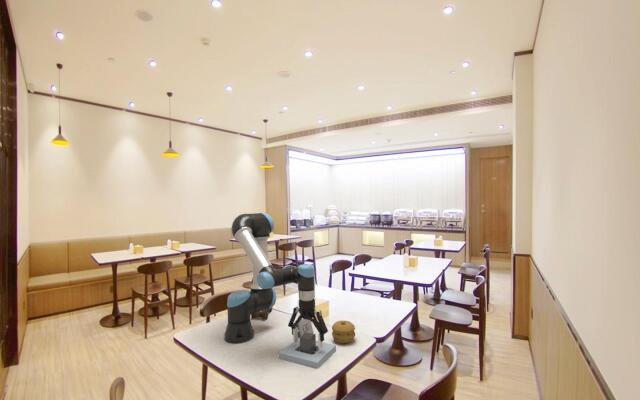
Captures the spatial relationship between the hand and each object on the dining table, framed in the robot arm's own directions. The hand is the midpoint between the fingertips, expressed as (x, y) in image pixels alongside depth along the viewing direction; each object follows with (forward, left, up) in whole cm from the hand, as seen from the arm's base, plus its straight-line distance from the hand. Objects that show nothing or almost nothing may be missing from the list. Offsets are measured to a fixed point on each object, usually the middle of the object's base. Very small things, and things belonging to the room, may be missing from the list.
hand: (307, 345), depth 142 cm
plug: (0, 0, -4) cm, 4 cm away
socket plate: (0, 0, -4) cm, 4 cm away
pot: (+9, +20, -4) cm, 22 cm away
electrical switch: (-12, +16, -4) cm, 20 cm away
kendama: (-50, +29, -5) cm, 58 cm away
